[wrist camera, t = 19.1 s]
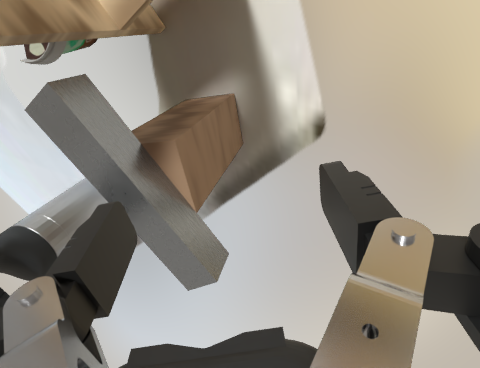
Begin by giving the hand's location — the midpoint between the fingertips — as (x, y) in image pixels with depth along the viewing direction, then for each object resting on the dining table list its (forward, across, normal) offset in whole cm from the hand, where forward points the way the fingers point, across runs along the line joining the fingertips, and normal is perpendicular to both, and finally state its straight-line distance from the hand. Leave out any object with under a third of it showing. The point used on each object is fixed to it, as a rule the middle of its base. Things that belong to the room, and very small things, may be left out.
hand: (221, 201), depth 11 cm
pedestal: (+34, +4, +8) cm, 35 cm away
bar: (+15, +9, +7) cm, 19 cm away
